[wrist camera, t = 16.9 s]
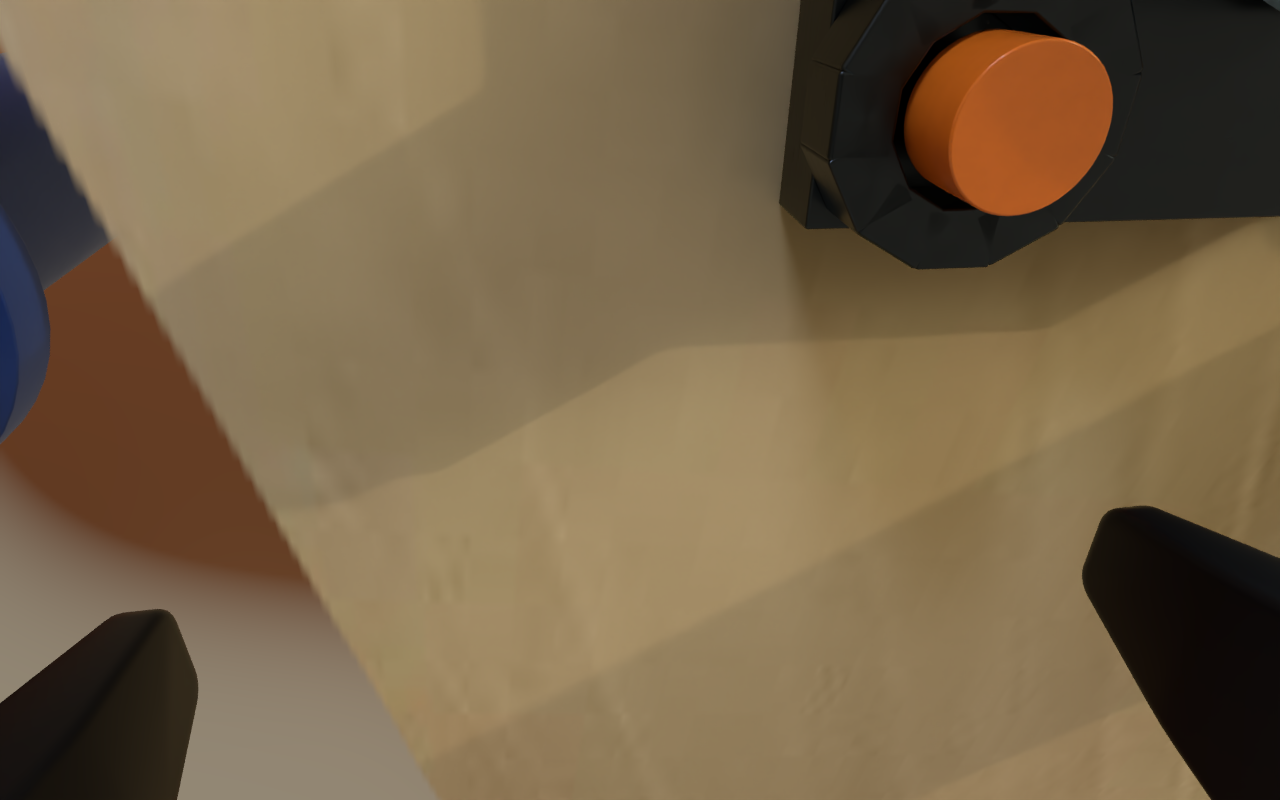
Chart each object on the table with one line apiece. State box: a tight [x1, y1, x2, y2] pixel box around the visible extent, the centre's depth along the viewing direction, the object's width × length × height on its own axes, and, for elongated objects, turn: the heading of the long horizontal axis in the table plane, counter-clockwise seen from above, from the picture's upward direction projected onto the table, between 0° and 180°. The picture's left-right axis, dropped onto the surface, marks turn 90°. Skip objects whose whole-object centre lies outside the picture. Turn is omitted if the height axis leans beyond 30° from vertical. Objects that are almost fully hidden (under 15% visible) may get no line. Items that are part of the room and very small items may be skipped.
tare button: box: [904, 28, 1113, 216], centre depth 14 cm, size 3×3×2 cm
